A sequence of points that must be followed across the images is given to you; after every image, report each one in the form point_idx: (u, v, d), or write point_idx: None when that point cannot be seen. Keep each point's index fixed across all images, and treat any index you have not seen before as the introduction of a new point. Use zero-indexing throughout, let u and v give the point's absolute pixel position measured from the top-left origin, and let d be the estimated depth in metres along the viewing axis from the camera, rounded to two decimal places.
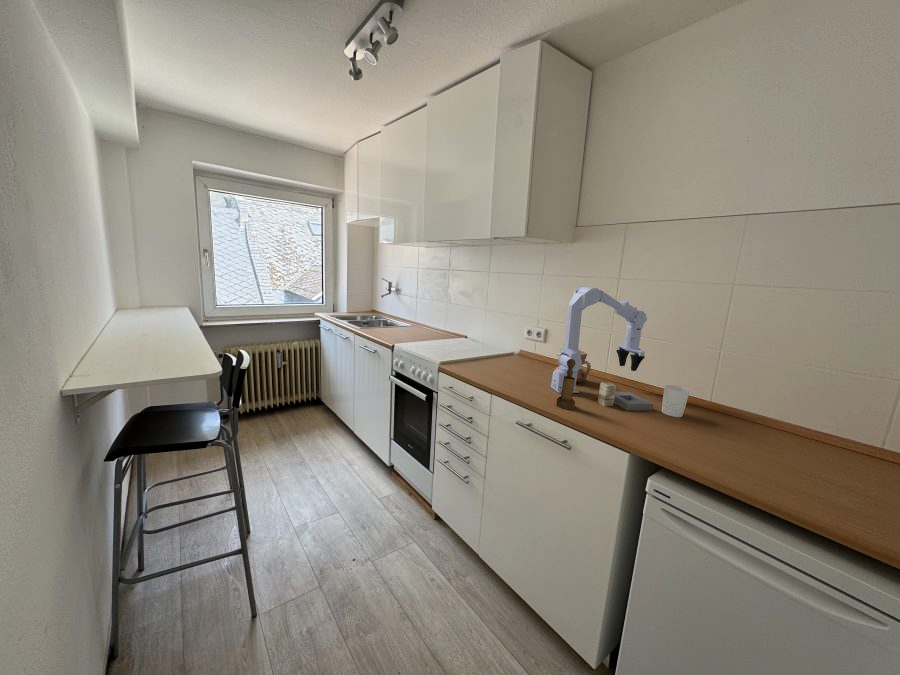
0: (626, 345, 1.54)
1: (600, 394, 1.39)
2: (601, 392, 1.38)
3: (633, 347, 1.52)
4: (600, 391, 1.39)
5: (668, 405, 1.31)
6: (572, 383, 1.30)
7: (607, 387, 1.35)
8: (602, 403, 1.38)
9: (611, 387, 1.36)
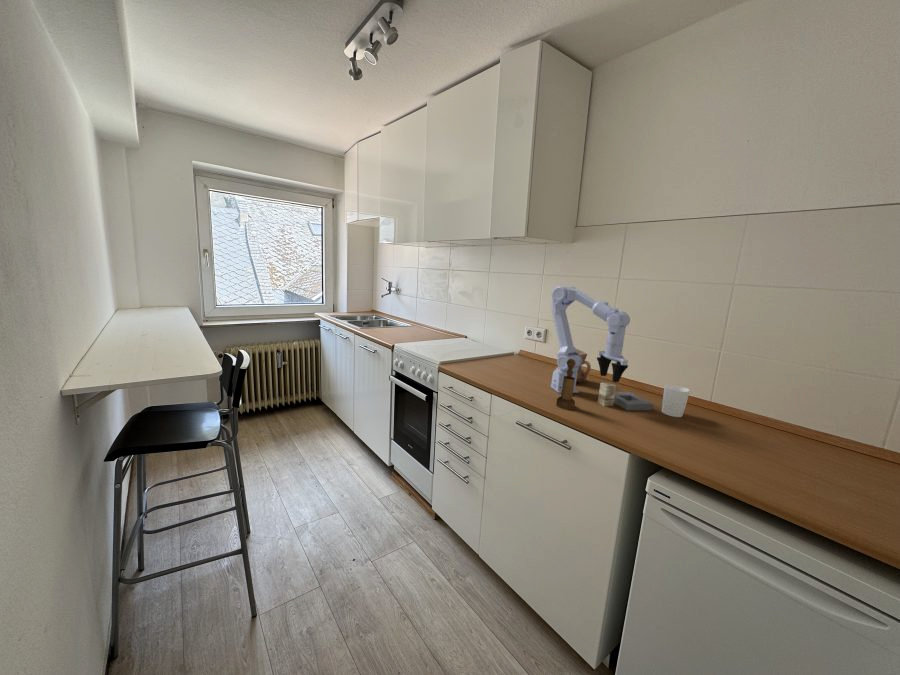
0: (607, 352, 1.34)
1: (600, 394, 1.39)
2: (601, 392, 1.38)
3: (615, 355, 1.33)
4: (600, 391, 1.39)
5: (668, 405, 1.31)
6: (572, 383, 1.30)
7: (607, 387, 1.35)
8: (602, 403, 1.38)
9: (611, 387, 1.36)
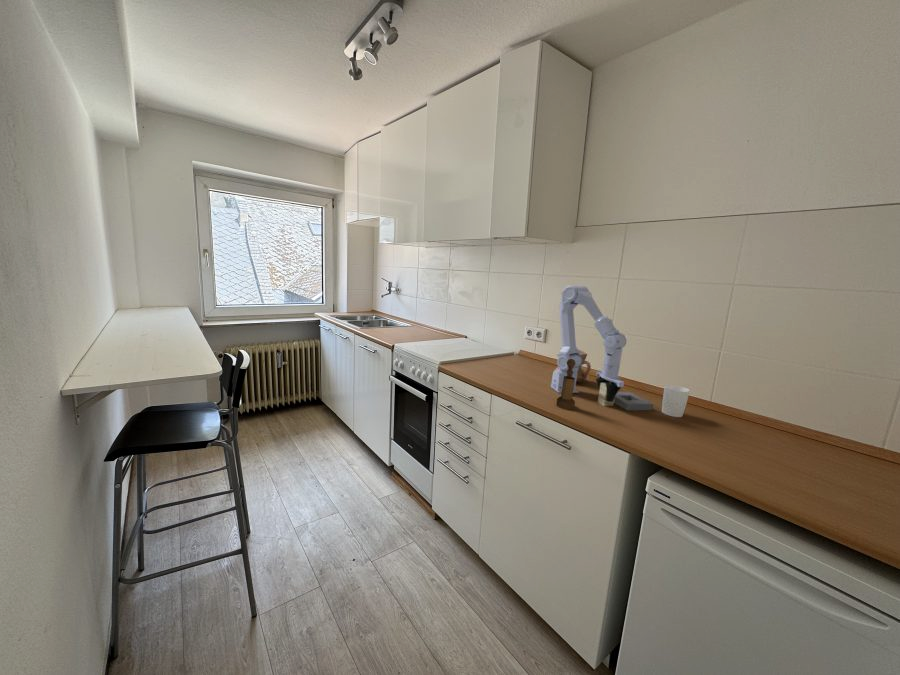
0: (604, 373, 1.36)
1: (600, 394, 1.39)
2: (601, 392, 1.38)
3: (611, 376, 1.34)
4: (600, 391, 1.39)
5: (668, 405, 1.31)
6: (572, 383, 1.30)
7: None
8: (602, 403, 1.38)
9: None
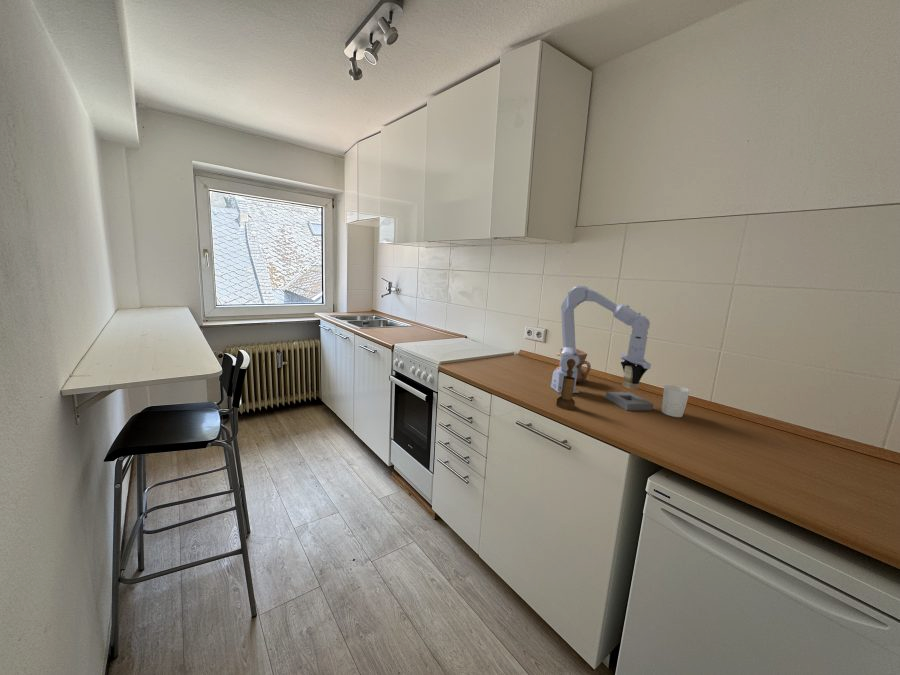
0: (630, 356, 1.36)
1: (625, 377, 1.39)
2: (626, 375, 1.39)
3: (637, 358, 1.35)
4: (625, 374, 1.40)
5: (668, 405, 1.31)
6: (572, 383, 1.30)
7: (632, 370, 1.36)
8: (627, 386, 1.38)
9: None
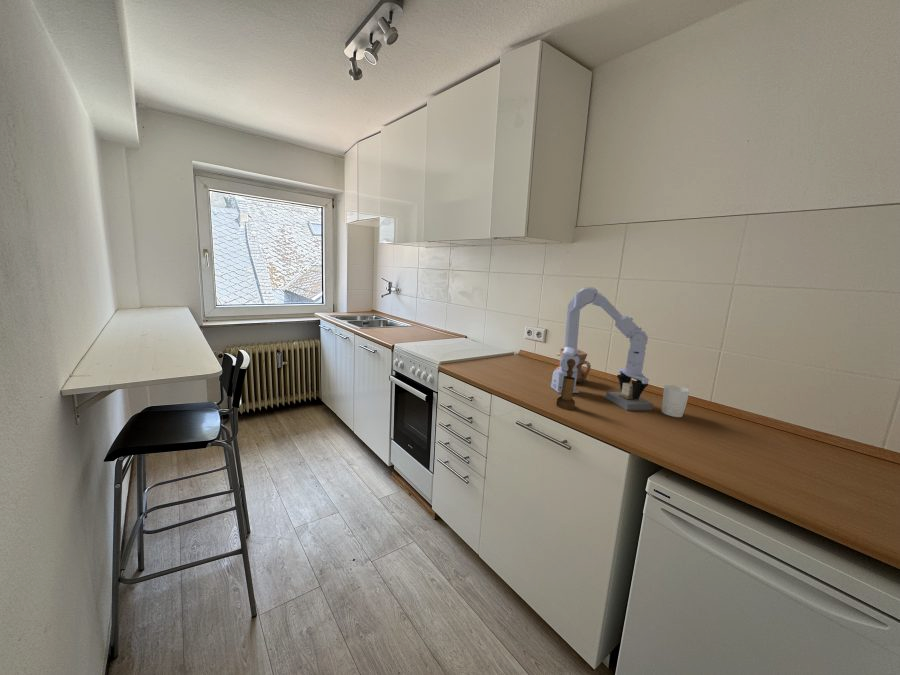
0: (628, 370, 1.38)
1: (622, 394, 1.41)
2: (624, 392, 1.40)
3: (635, 373, 1.36)
4: (622, 391, 1.41)
5: (668, 405, 1.31)
6: (572, 383, 1.30)
7: (630, 387, 1.37)
8: None
9: None
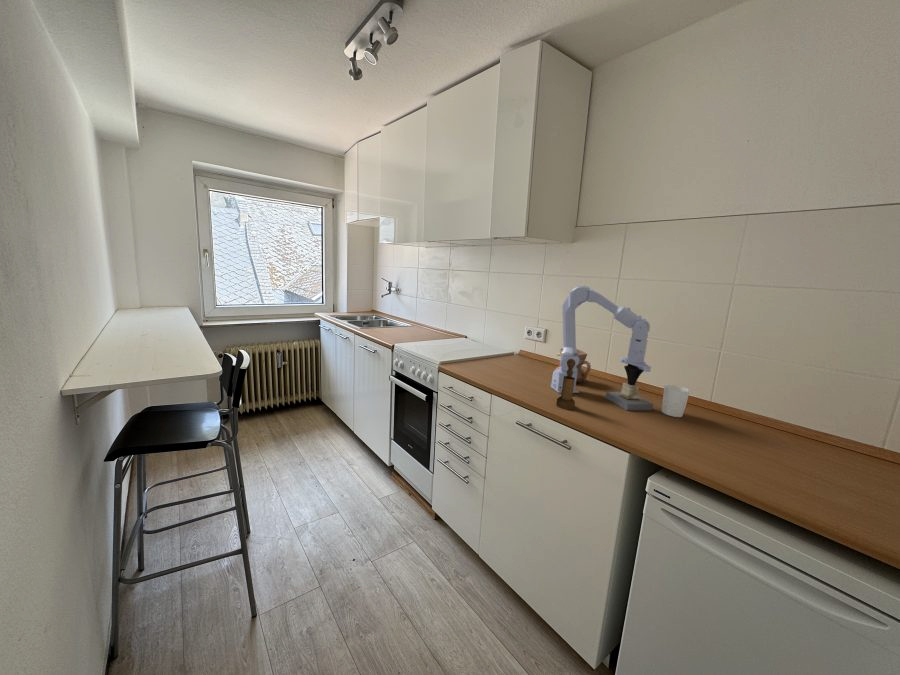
0: (630, 359, 1.37)
1: (622, 394, 1.41)
2: (624, 392, 1.40)
3: (637, 361, 1.35)
4: (622, 391, 1.41)
5: (668, 405, 1.31)
6: (572, 383, 1.30)
7: (630, 387, 1.37)
8: None
9: (634, 387, 1.38)
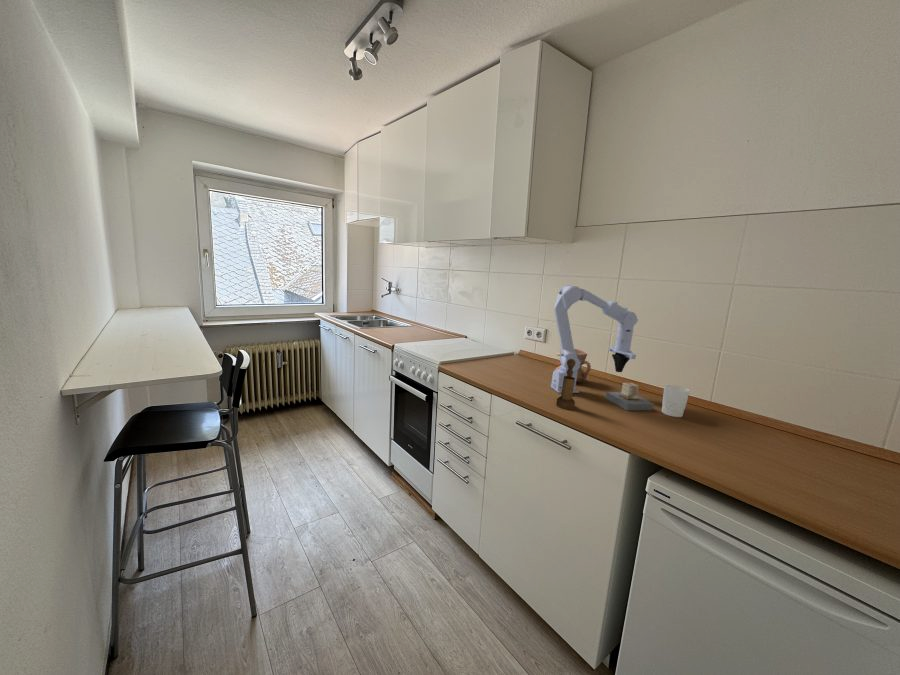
0: (617, 348, 1.47)
1: (622, 394, 1.41)
2: (624, 392, 1.40)
3: (624, 350, 1.46)
4: (622, 391, 1.41)
5: (668, 405, 1.31)
6: (572, 383, 1.30)
7: (630, 387, 1.37)
8: None
9: (634, 387, 1.38)
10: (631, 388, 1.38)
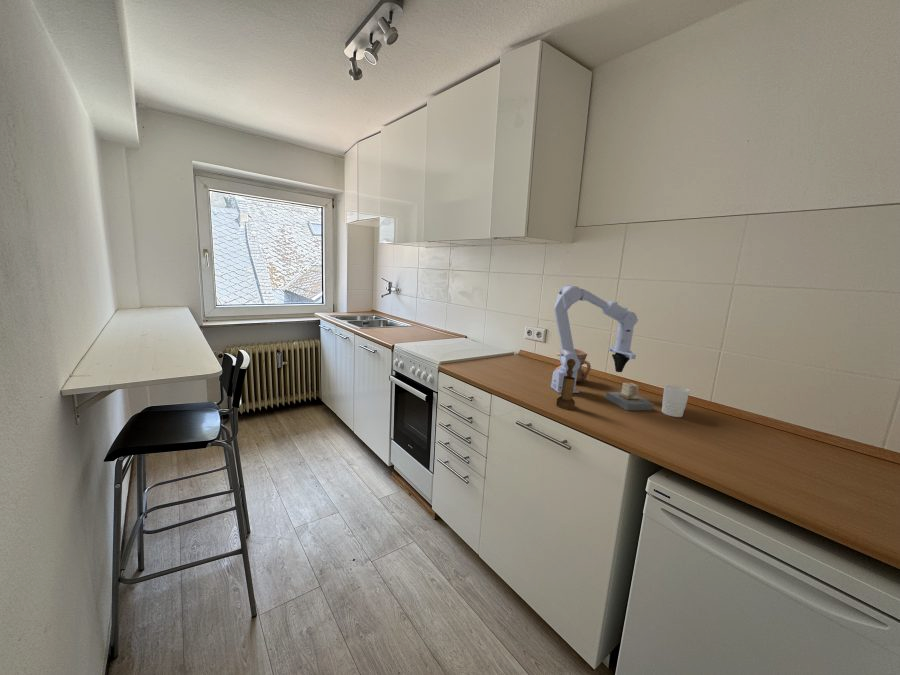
0: (617, 348, 1.47)
1: (622, 394, 1.41)
2: (624, 392, 1.40)
3: (624, 350, 1.46)
4: (622, 391, 1.41)
5: (668, 405, 1.31)
6: (572, 383, 1.30)
7: (630, 387, 1.37)
8: None
9: (634, 387, 1.38)
10: (631, 388, 1.38)
